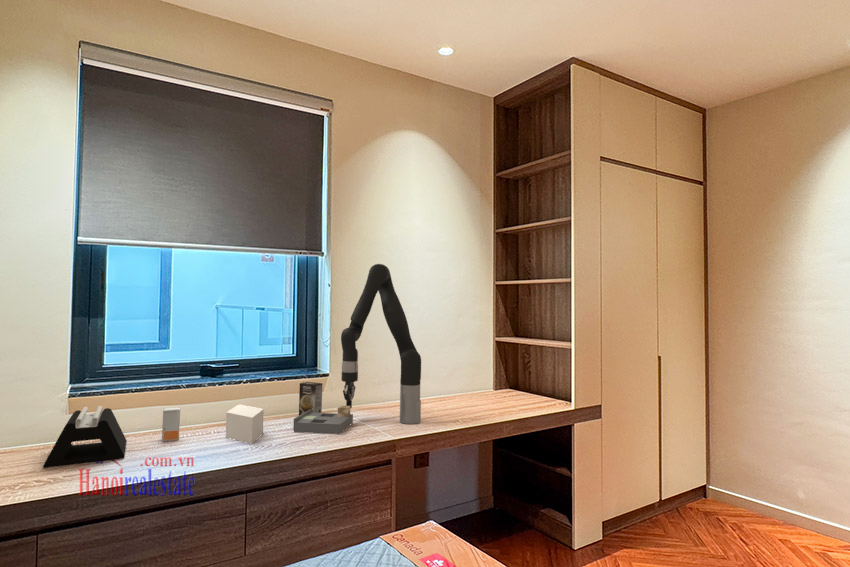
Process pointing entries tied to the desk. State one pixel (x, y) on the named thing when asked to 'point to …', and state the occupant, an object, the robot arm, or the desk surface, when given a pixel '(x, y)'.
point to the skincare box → (171, 424)
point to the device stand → (88, 429)
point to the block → (343, 411)
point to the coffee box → (310, 397)
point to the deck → (321, 422)
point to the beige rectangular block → (244, 423)
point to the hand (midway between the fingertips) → (348, 408)
